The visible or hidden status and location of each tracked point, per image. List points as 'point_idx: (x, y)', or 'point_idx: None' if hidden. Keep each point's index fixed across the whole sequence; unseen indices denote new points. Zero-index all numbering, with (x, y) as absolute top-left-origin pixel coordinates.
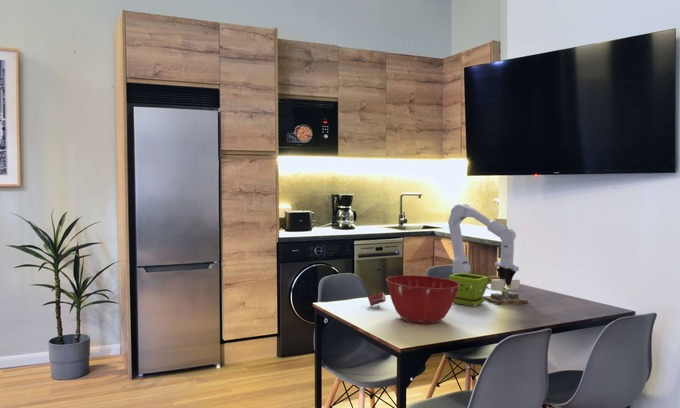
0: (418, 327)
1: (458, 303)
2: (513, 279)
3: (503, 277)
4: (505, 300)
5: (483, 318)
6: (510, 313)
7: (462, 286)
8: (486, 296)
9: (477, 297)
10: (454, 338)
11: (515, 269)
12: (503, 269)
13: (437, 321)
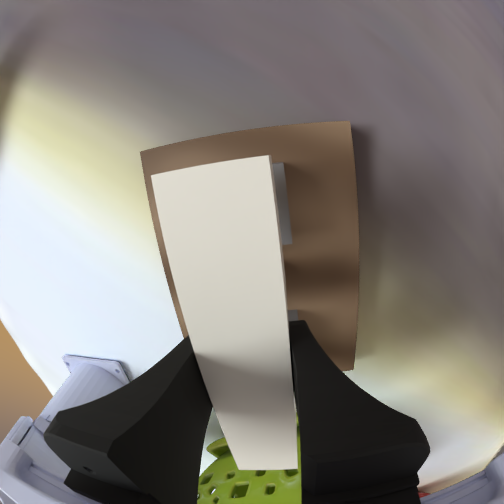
0: None
1: None
2: (248, 274)
3: (196, 396)
4: (336, 315)
5: (455, 440)
6: (474, 367)
7: (204, 481)
8: None
9: None
10: (481, 470)
11: (498, 492)
12: (168, 495)
13: (418, 492)
